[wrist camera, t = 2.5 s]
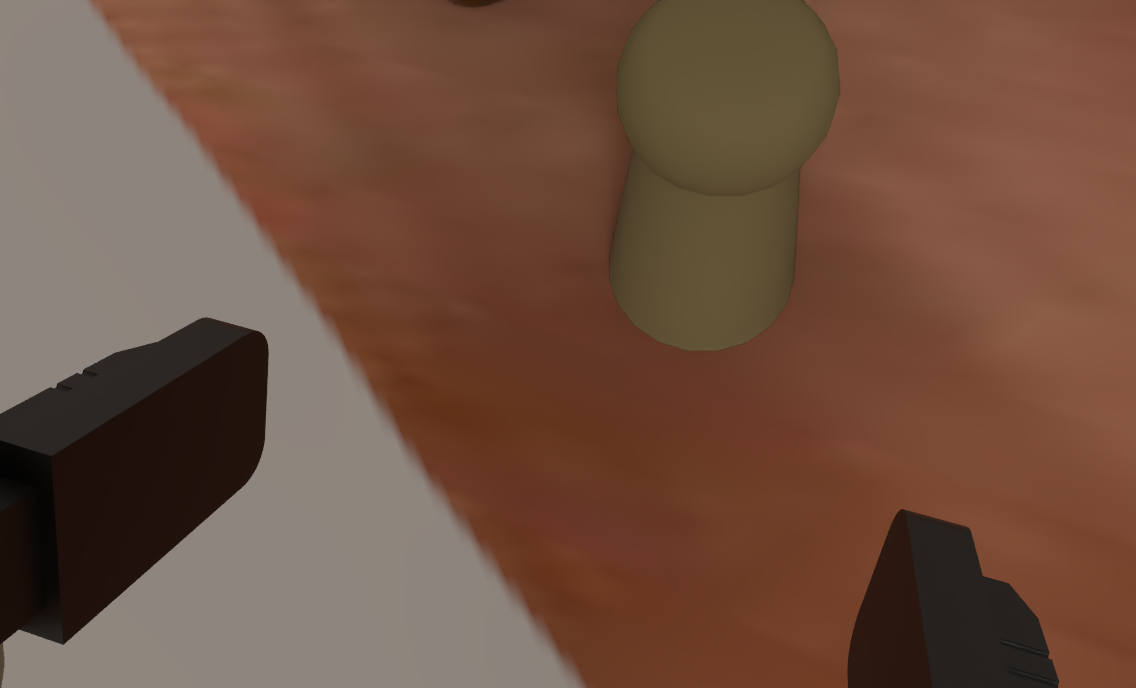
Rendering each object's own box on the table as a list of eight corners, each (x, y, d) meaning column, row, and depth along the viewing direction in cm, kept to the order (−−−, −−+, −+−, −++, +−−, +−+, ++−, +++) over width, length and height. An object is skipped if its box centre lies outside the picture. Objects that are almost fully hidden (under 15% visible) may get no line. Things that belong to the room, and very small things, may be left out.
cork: (577, 231, 32) (550, -7, 21) (736, 160, 32) (784, -104, 22) (660, 382, 29) (674, 197, 19) (829, 302, 30) (930, 82, 20)
